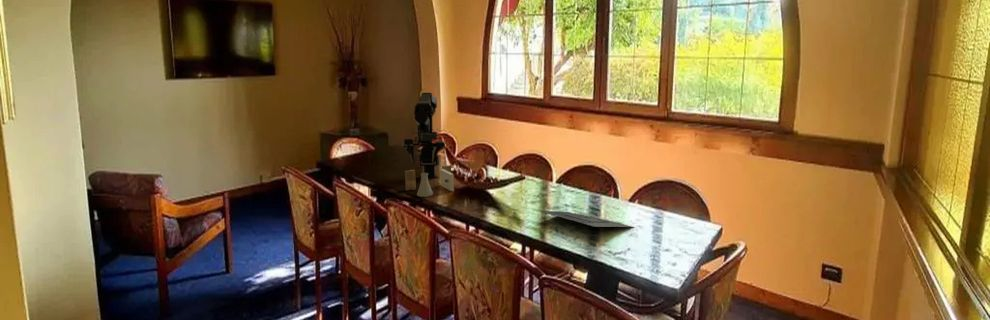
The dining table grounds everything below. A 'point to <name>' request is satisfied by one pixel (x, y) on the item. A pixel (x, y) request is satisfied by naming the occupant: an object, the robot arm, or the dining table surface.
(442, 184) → the door
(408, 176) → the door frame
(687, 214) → the dining table surface
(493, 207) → the dining table surface
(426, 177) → the flask
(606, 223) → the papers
